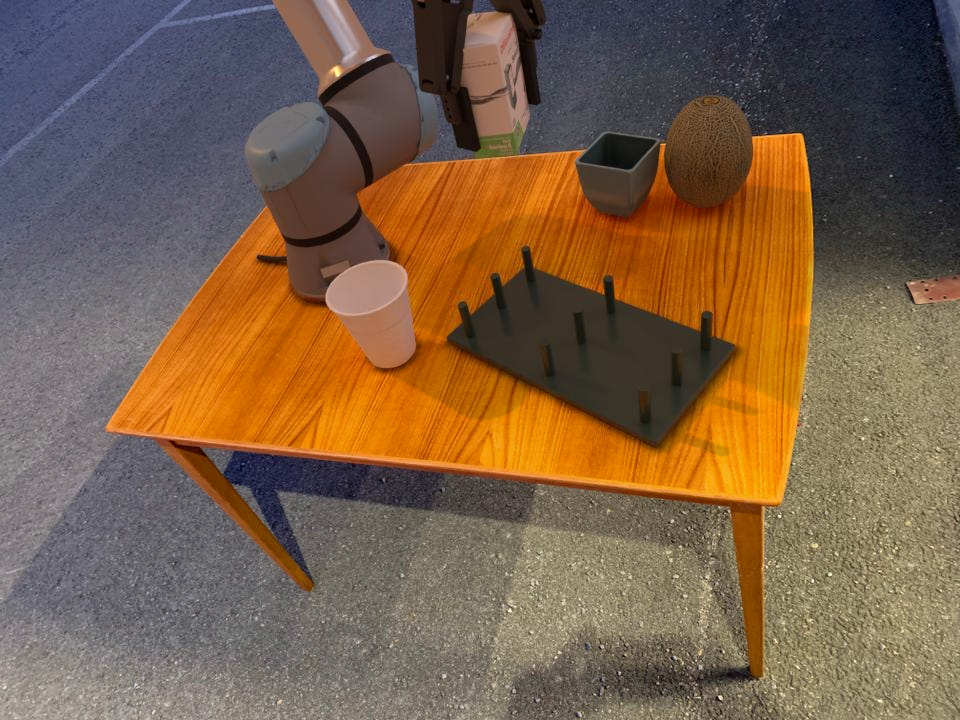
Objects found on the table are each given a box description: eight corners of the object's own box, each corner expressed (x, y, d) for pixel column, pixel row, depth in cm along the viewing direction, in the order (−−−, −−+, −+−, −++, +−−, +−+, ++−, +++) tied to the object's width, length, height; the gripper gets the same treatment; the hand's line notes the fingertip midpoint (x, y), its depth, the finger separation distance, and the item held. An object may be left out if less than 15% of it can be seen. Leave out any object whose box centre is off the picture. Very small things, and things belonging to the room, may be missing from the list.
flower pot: (608, 184, 105) (604, 129, 98) (663, 194, 100) (662, 137, 94) (579, 217, 100) (572, 161, 94) (635, 229, 96) (632, 172, 89)
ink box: (518, 157, 72) (497, 42, 64) (472, 160, 73) (446, 48, 65) (531, 116, 77) (513, 6, 69) (489, 120, 79) (466, 12, 71)
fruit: (751, 223, 92) (760, 117, 81) (663, 226, 95) (661, 125, 84) (747, 175, 99) (755, 73, 89) (666, 180, 102) (664, 82, 92)
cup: (342, 354, 90) (311, 289, 82) (405, 315, 93) (380, 249, 85) (379, 394, 83) (349, 328, 76) (446, 350, 86) (423, 282, 79)
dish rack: (447, 342, 87) (436, 307, 83) (527, 270, 94) (520, 234, 90) (656, 448, 70) (655, 410, 66) (735, 350, 77) (738, 310, 73)
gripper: (389, -76, 52) (457, 185, 67) (564, -164, 61) (588, 82, 77) (327, -75, 56) (404, 170, 71) (500, -158, 66) (535, 74, 81)
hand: (500, 124), depth 74 cm, fingers closed on ink box, 9 cm apart
